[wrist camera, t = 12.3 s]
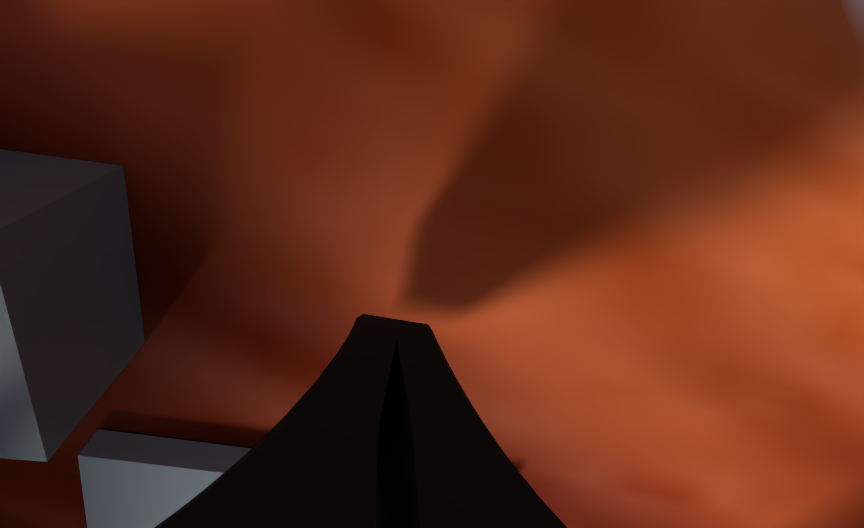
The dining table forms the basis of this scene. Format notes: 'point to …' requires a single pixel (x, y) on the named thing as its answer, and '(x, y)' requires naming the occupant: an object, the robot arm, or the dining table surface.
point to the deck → (146, 476)
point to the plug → (61, 296)
